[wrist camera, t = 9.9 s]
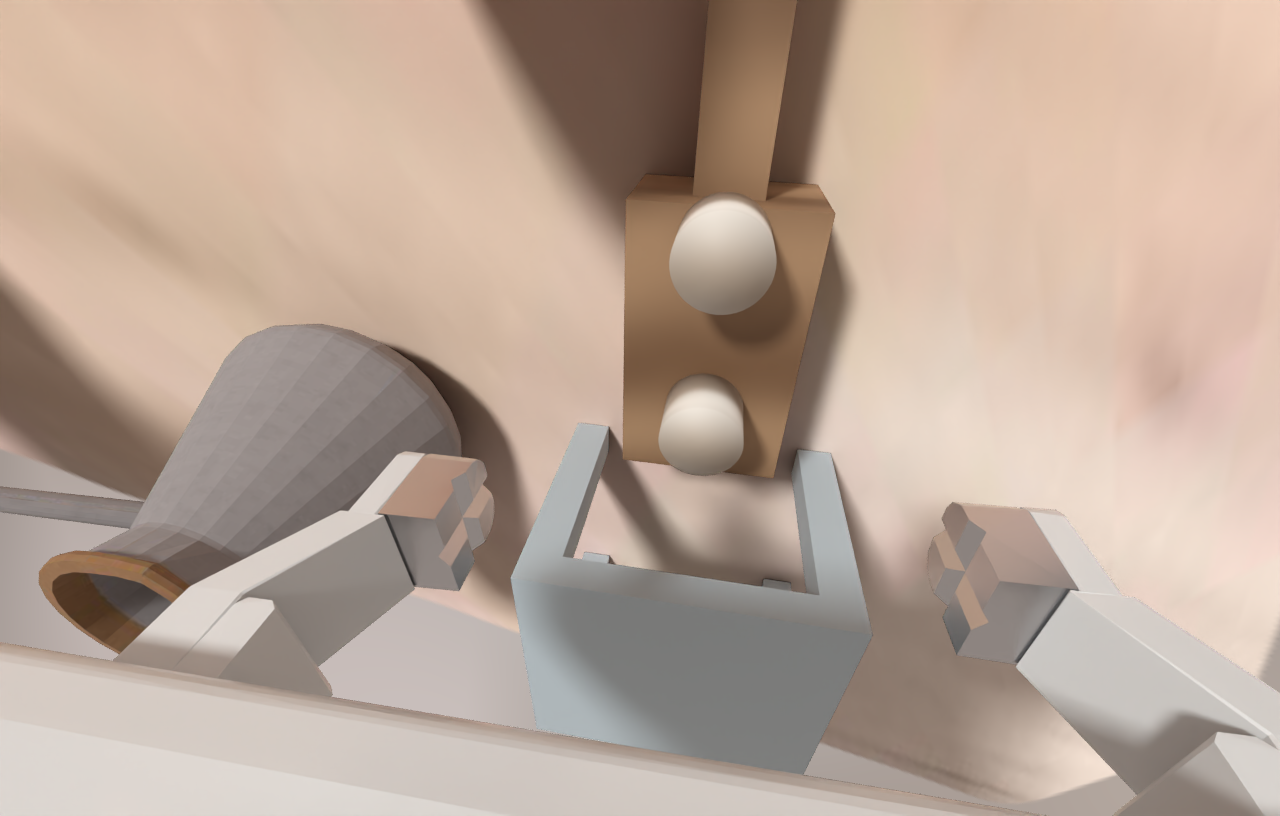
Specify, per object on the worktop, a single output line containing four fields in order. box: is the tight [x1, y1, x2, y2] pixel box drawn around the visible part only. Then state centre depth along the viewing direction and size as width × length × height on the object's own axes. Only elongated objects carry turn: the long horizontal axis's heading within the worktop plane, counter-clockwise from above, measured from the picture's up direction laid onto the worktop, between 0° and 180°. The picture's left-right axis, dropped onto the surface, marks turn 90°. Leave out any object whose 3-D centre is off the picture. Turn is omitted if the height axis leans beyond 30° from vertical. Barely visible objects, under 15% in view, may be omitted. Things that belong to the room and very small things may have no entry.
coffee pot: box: [0, 324, 462, 654], centre depth 20 cm, size 21×12×15 cm, turn 59°
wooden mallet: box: [623, 0, 835, 478], centre depth 15 cm, size 21×6×6 cm, turn 178°
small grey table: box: [511, 423, 873, 775], centre depth 24 cm, size 12×11×9 cm
